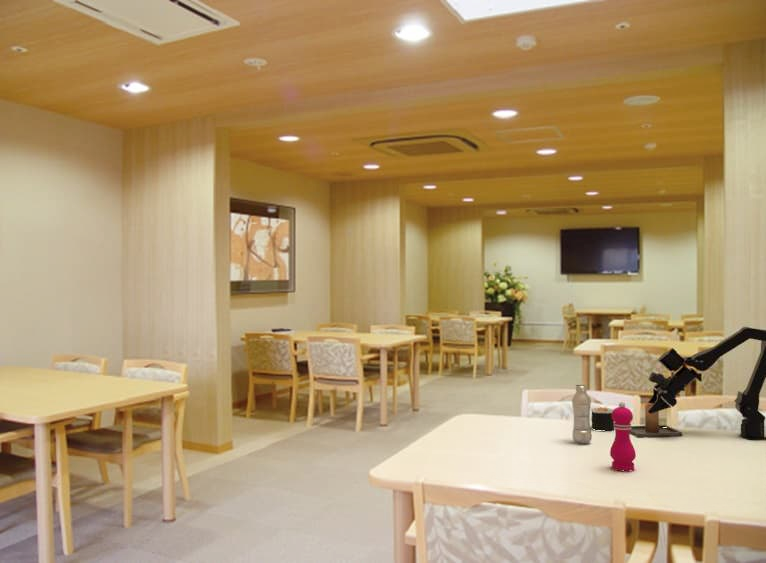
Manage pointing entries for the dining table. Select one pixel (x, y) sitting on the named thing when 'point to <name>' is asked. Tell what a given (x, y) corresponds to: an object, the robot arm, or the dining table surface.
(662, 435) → the tray
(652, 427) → the soy sauce bottle
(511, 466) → the dining table surface
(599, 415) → the sushi
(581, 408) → the plastic bottle
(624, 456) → the pepper mill
